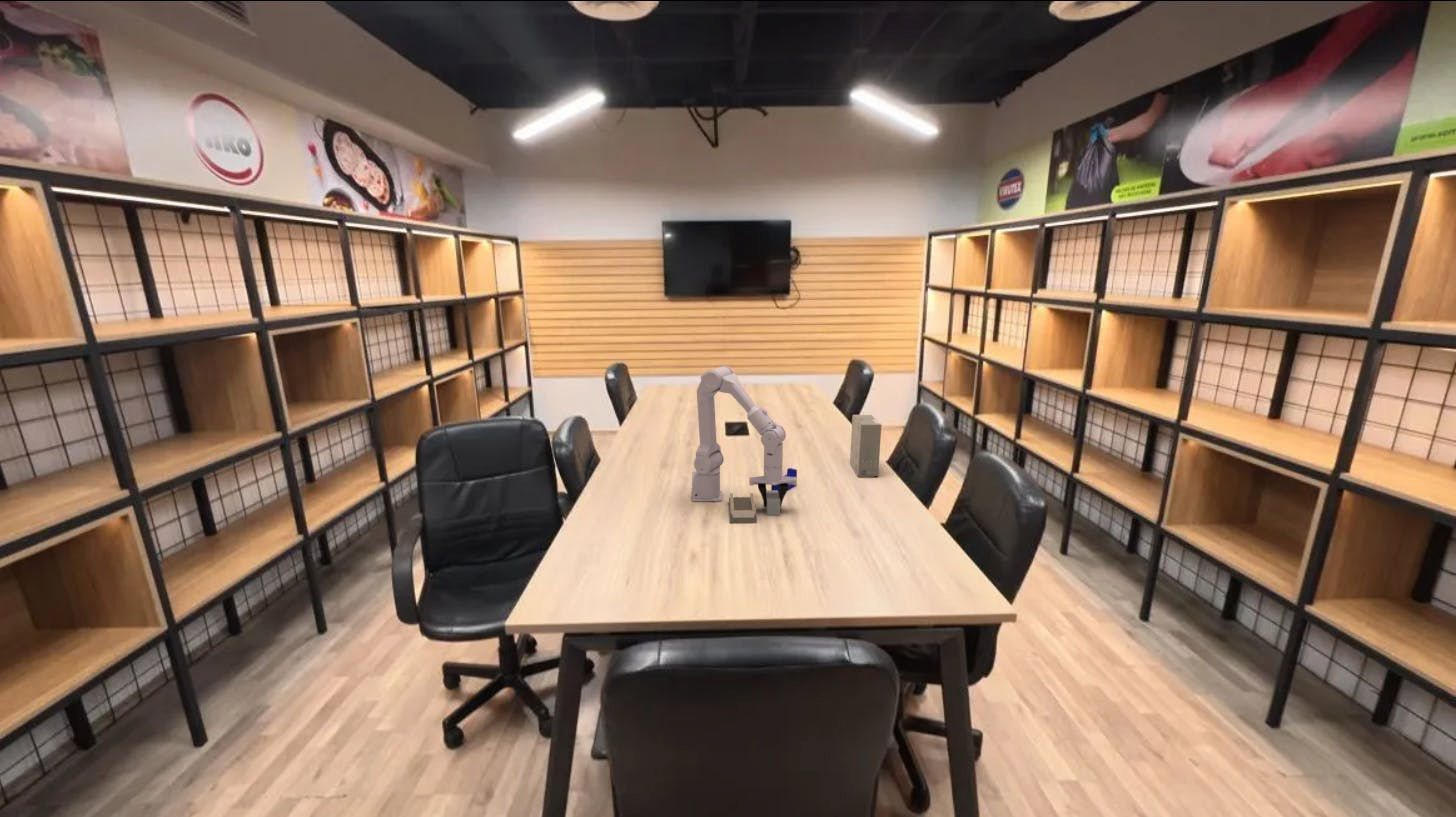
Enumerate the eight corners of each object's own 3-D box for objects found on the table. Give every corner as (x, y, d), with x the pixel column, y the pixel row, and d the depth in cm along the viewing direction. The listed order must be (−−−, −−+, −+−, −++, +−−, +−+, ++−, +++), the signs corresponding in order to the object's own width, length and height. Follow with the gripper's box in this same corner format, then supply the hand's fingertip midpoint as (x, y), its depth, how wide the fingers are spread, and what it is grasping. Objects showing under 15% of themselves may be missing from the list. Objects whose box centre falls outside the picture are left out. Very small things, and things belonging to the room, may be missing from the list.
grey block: (767, 515, 171) (767, 500, 170) (765, 505, 179) (765, 490, 178) (780, 515, 171) (780, 500, 170) (777, 504, 179) (777, 490, 178)
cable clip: (785, 482, 198) (785, 467, 196) (796, 485, 195) (796, 469, 194) (767, 493, 188) (767, 476, 187) (779, 496, 186) (779, 479, 184)
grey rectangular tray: (730, 523, 166) (730, 512, 165) (729, 501, 181) (729, 491, 181) (756, 522, 166) (756, 511, 165) (753, 501, 182) (753, 491, 181)
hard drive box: (878, 477, 202) (882, 424, 197) (857, 477, 202) (860, 424, 198) (868, 463, 217) (871, 414, 212) (849, 463, 217) (851, 414, 213)
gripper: (750, 469, 167) (750, 511, 171) (798, 469, 168) (797, 510, 171) (749, 461, 174) (748, 502, 177) (795, 461, 174) (794, 501, 178)
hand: (772, 505), depth 175 cm, fingers closed on grey block, 4 cm apart
